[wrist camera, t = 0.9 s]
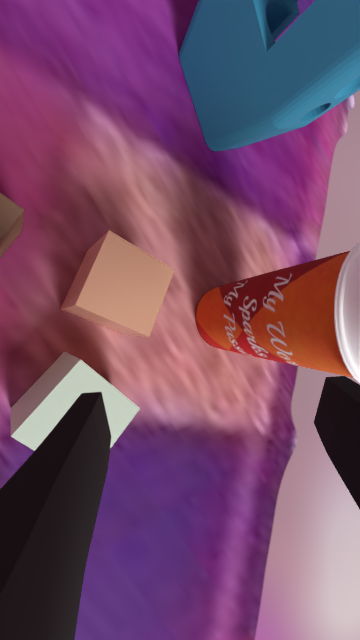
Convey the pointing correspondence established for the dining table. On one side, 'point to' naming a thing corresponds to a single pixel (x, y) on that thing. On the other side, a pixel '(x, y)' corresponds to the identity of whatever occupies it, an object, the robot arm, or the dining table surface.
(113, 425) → the sage cube
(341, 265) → the paper cup
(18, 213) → the walnut base
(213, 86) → the block
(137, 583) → the dining table surface
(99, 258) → the terracotta cube
